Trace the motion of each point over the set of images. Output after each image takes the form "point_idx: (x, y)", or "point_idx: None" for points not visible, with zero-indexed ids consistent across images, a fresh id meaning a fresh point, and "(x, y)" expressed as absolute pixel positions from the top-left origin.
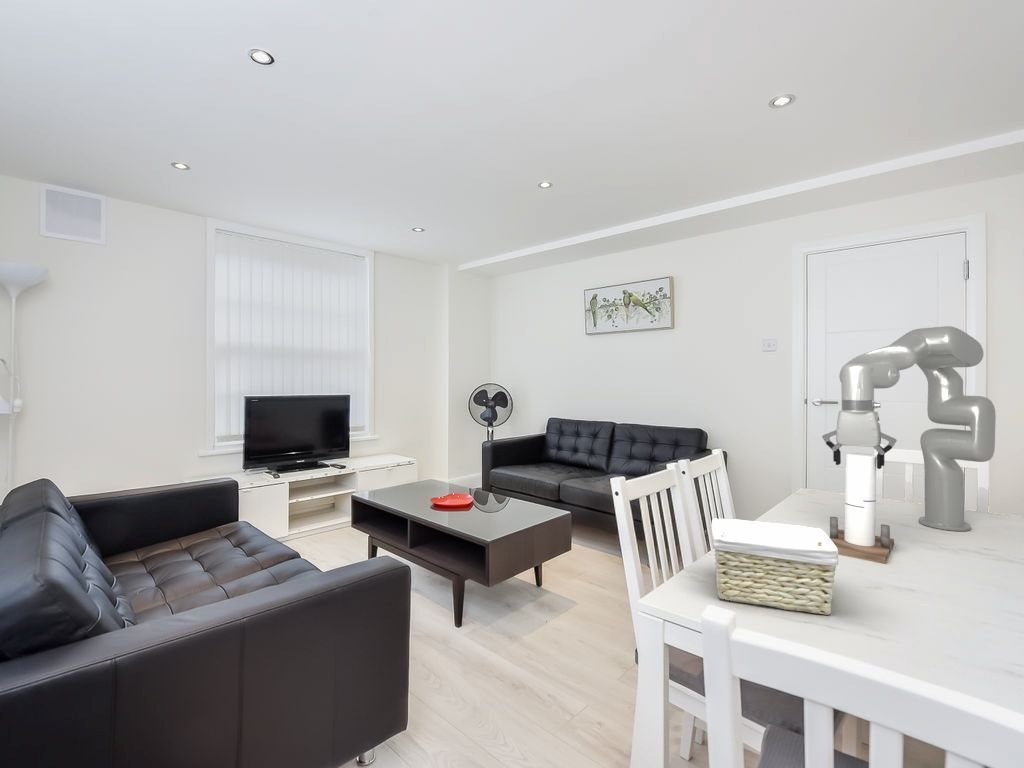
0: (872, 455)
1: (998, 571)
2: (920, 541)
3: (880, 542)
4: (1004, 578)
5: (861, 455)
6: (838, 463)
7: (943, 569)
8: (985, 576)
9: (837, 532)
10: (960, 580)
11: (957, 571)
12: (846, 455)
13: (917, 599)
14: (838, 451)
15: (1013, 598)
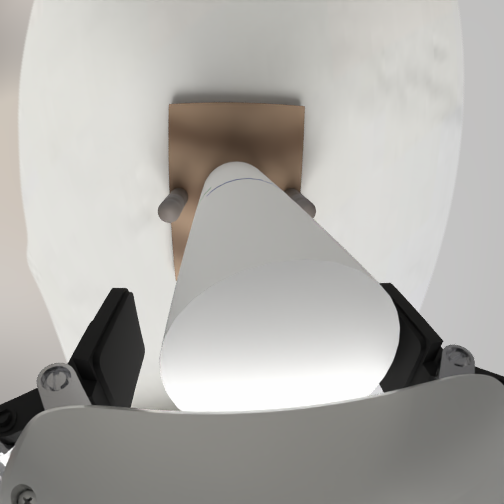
0: (379, 322)
1: (440, 188)
2: (347, 51)
3: (279, 162)
4: (438, 222)
5: (292, 389)
6: (142, 358)
7: (375, 236)
8: (420, 230)
9: (185, 203)
10: (386, 276)
11: (392, 232)
12: (182, 404)
13: None
14: (110, 404)
15: (421, 301)
